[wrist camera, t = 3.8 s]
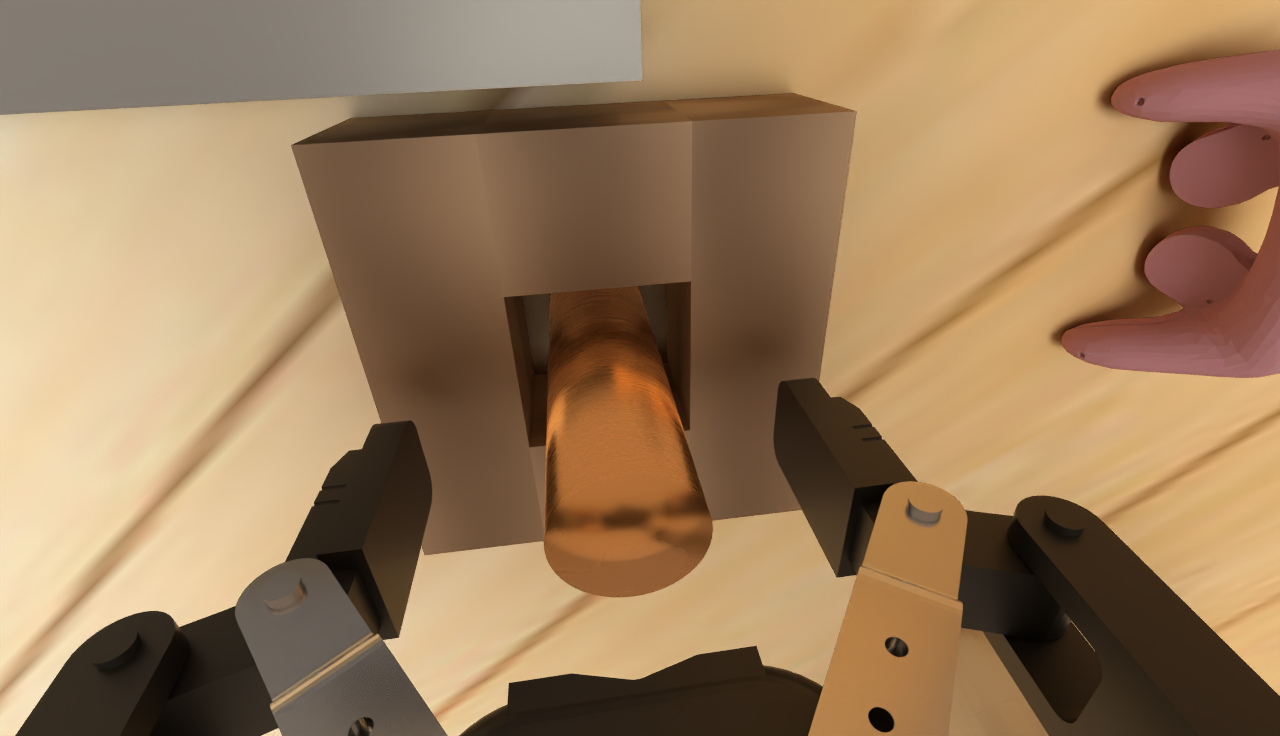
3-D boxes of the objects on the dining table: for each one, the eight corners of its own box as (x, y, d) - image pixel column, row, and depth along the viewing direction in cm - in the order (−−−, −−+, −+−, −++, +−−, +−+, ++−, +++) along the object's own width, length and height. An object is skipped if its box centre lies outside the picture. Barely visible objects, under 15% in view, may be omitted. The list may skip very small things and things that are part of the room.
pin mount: (793, 93, 16) (856, 111, 13) (763, 436, 22) (800, 509, 19) (350, 118, 15) (291, 144, 12) (445, 470, 21) (424, 555, 18)
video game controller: (1107, 314, 24) (1366, 375, 18) (1045, 362, 22) (1313, 446, 16) (1174, 40, 18) (1563, 13, 13) (1102, 74, 17) (1516, 59, 11)
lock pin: (640, 259, 18) (715, 465, 10) (643, 343, 20) (711, 586, 11) (544, 266, 18) (533, 485, 9) (554, 351, 20) (553, 606, 11)
